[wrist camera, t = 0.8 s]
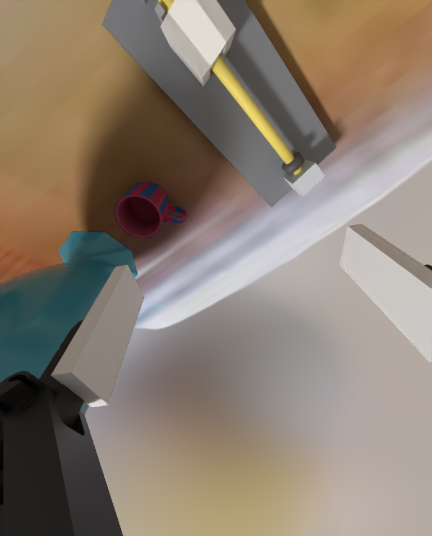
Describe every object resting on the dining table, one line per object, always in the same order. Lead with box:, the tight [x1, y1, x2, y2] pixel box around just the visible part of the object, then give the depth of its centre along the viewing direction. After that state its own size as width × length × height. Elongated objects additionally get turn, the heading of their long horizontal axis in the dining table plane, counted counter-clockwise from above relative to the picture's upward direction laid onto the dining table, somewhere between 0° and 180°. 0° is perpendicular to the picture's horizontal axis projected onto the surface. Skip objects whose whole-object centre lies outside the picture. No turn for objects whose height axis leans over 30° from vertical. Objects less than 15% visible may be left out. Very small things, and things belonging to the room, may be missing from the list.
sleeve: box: [160, 0, 236, 87], centre depth 21 cm, size 5×5×6 cm
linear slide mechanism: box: [102, 0, 337, 207], centre depth 25 cm, size 30×12×6 cm, turn 47°
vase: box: [0, 231, 137, 415], centre depth 30 cm, size 17×17×30 cm
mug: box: [114, 182, 187, 238], centre depth 33 cm, size 7×10×7 cm
